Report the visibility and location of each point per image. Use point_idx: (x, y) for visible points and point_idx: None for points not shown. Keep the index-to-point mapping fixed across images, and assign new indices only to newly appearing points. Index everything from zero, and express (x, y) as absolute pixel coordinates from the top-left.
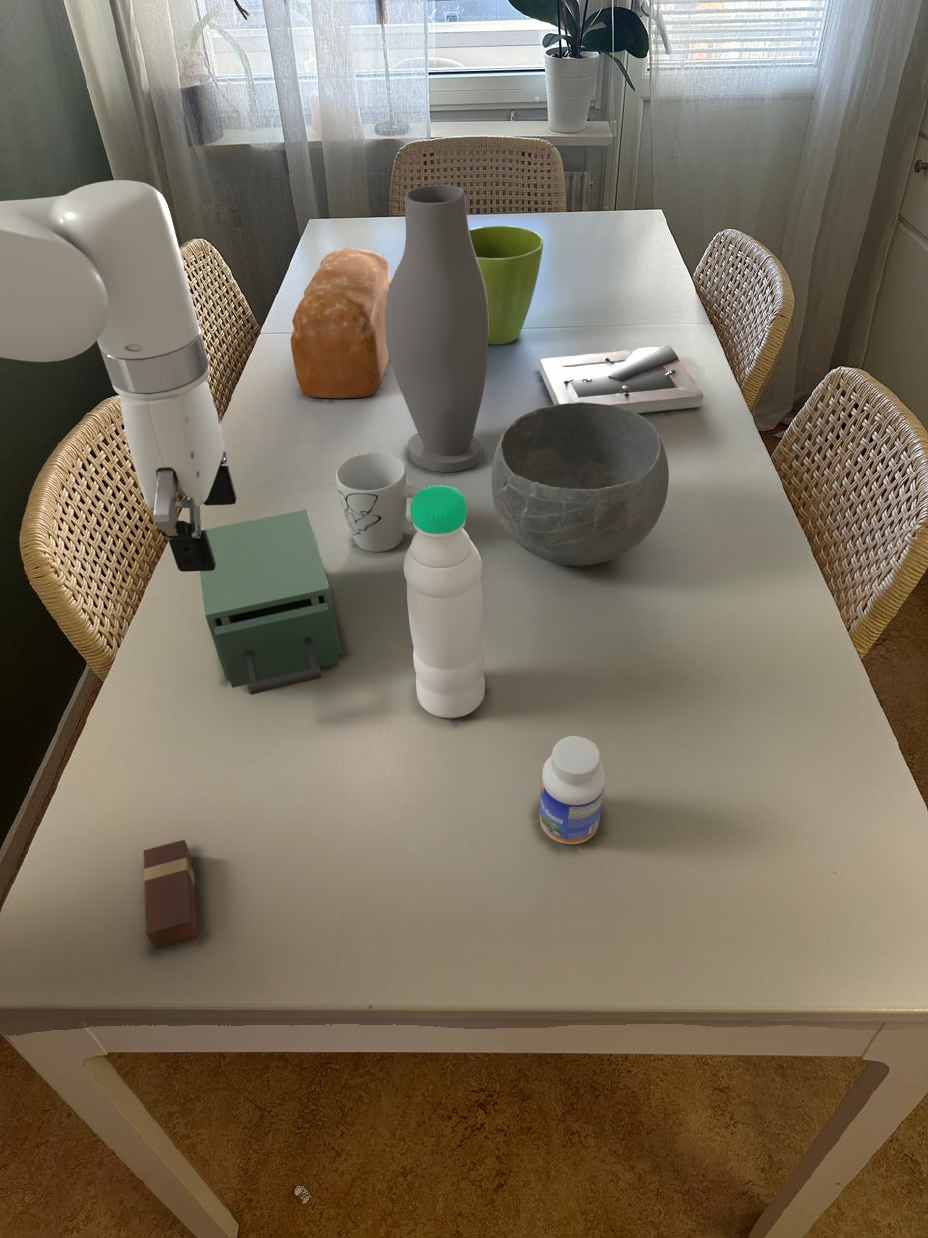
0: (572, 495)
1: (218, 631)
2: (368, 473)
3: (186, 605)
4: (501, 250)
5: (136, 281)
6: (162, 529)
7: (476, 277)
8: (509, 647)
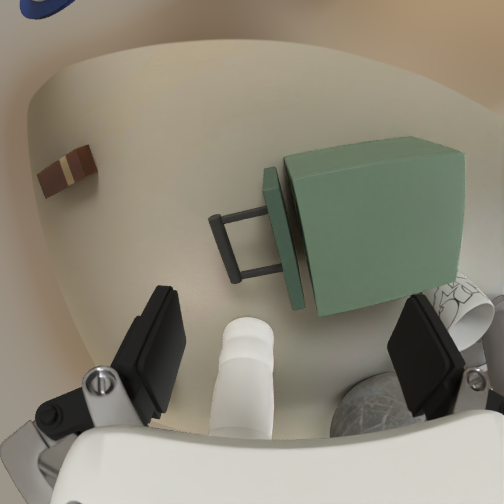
0: None
1: (269, 194)
2: (480, 309)
3: (402, 106)
4: None
5: None
6: (26, 427)
7: None
8: (291, 360)
